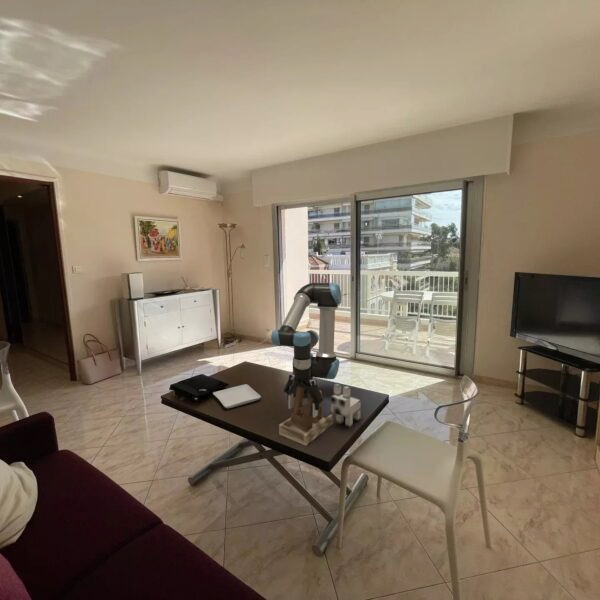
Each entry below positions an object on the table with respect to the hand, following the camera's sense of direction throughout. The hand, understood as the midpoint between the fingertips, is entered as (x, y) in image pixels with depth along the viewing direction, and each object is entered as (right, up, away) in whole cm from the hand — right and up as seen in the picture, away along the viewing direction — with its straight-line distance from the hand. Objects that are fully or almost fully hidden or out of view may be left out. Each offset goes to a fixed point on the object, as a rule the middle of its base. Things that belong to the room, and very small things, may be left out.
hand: (302, 411), depth 145 cm
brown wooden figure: (-1, -6, +2) cm, 6 cm away
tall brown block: (+6, -7, +9) cm, 13 cm away
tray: (+2, -9, +4) cm, 10 cm away
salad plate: (-37, -6, +35) cm, 51 cm away
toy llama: (+22, -8, +10) cm, 25 cm away
